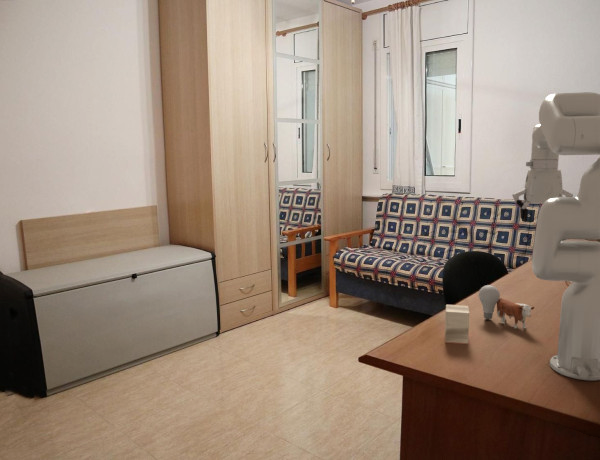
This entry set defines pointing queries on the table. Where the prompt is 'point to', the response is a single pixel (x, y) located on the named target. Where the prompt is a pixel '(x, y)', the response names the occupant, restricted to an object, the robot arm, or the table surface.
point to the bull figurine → (513, 311)
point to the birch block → (457, 324)
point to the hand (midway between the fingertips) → (540, 221)
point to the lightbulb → (489, 300)
